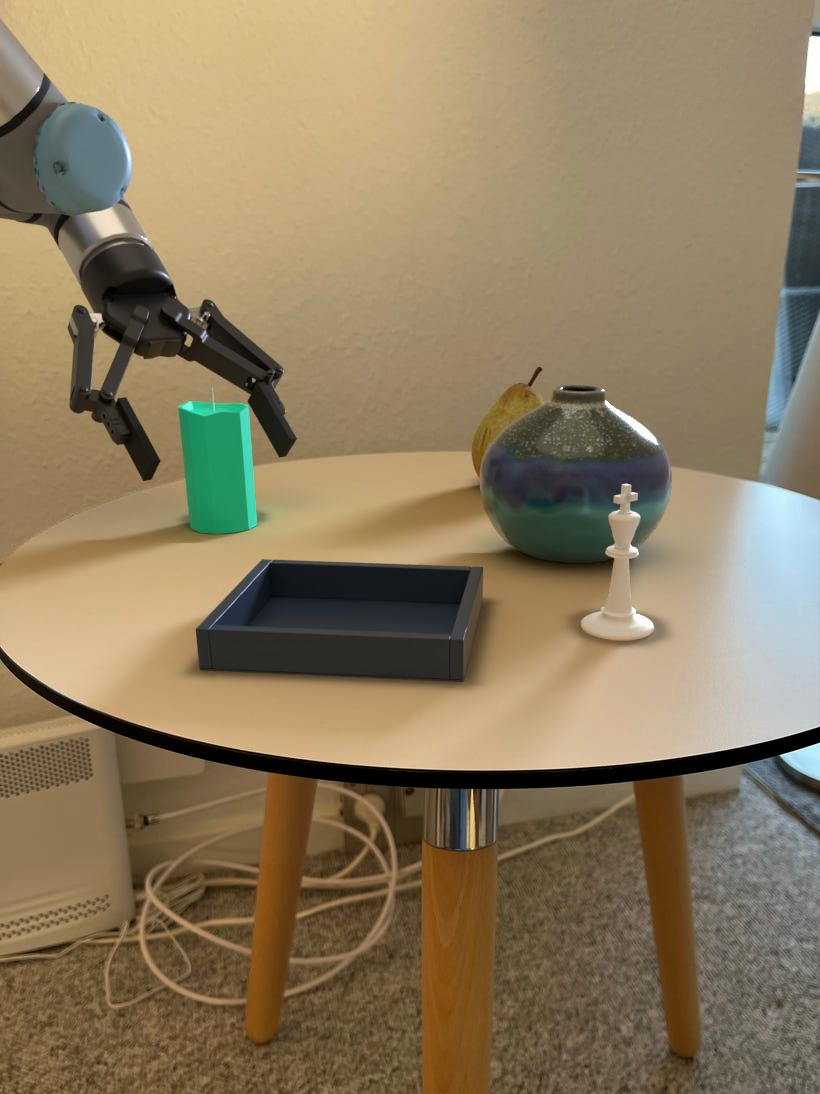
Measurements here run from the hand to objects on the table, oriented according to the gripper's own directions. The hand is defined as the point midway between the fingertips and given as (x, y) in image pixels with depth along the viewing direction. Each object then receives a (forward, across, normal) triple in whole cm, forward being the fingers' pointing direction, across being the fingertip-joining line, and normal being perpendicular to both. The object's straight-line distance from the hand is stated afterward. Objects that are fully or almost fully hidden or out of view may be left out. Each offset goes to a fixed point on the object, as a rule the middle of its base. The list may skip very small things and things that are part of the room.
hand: (223, 459), depth 88 cm
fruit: (+9, -30, +1) cm, 31 cm away
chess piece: (+33, -4, +24) cm, 41 cm away
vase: (+23, -16, +14) cm, 31 cm away
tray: (+25, +9, +16) cm, 31 cm away
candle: (+4, 0, -5) cm, 6 cm away
